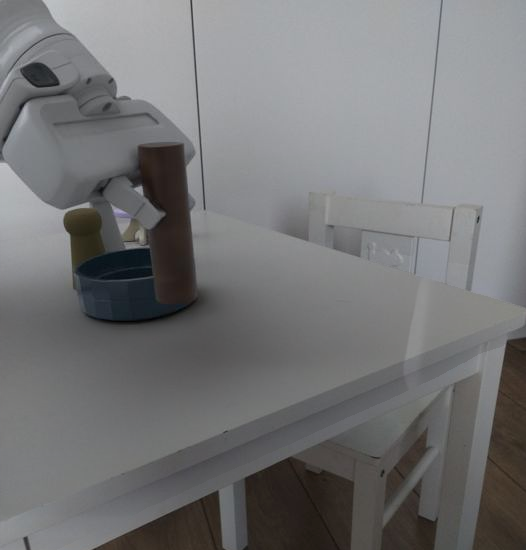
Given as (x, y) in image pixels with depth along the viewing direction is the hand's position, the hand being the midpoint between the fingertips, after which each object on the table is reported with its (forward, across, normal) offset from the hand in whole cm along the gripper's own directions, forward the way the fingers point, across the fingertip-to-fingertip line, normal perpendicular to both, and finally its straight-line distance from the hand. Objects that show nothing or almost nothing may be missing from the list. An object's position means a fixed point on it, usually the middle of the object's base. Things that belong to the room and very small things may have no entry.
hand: (174, 216), depth 51 cm
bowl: (0, -15, -22) cm, 26 cm away
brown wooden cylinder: (+5, 0, -6) cm, 8 cm away
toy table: (-13, -45, -35) cm, 58 cm away
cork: (-8, -20, -30) cm, 37 cm away
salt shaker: (-10, -27, -32) cm, 43 cm away
